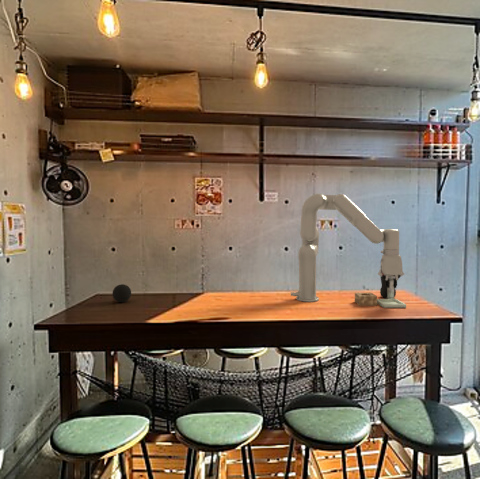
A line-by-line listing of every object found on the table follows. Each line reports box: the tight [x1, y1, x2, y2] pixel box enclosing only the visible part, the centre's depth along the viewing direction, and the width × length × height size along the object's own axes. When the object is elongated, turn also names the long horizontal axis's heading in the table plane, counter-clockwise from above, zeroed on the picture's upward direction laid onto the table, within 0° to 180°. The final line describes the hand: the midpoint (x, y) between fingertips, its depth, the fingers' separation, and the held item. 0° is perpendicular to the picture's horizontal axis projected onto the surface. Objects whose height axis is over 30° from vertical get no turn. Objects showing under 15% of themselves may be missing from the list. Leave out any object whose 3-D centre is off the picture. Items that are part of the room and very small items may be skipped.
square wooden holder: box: [354, 292, 378, 307], centre depth 196 cm, size 9×9×5 cm
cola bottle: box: [379, 273, 397, 299], centre depth 209 cm, size 8×8×30 cm
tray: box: [377, 298, 407, 309], centre depth 192 cm, size 11×12×2 cm
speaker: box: [112, 284, 132, 303], centre depth 203 cm, size 10×10×10 cm
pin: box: [386, 275, 396, 299], centre depth 192 cm, size 5×5×12 cm
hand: (390, 287), depth 192 cm, fingers closed on pin, 3 cm apart
